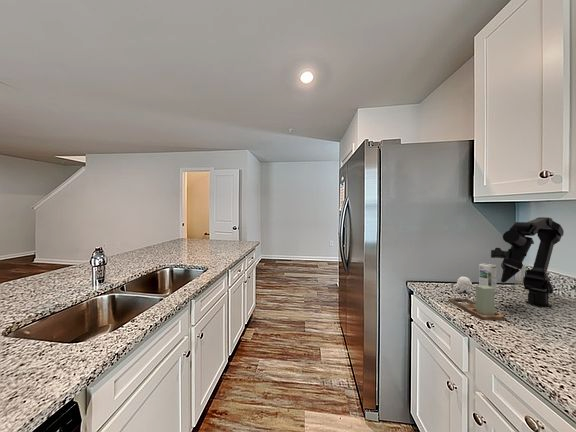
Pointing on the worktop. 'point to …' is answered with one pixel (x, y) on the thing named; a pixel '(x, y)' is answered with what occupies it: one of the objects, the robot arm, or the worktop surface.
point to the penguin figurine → (464, 284)
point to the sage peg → (485, 300)
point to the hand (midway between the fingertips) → (502, 282)
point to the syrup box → (487, 275)
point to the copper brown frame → (472, 309)
